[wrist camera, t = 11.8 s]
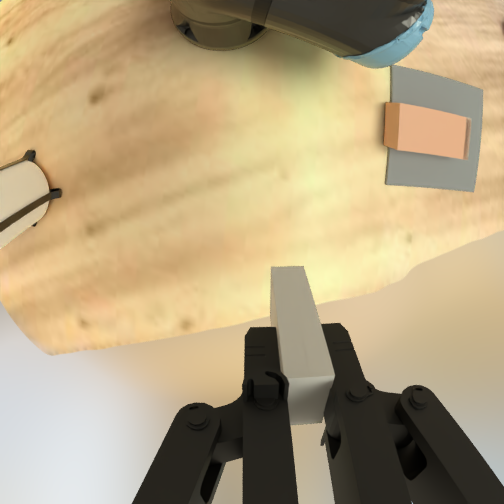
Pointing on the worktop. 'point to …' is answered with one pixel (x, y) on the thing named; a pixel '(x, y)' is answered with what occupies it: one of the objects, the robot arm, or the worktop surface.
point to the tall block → (426, 131)
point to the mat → (443, 99)
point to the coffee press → (22, 197)
